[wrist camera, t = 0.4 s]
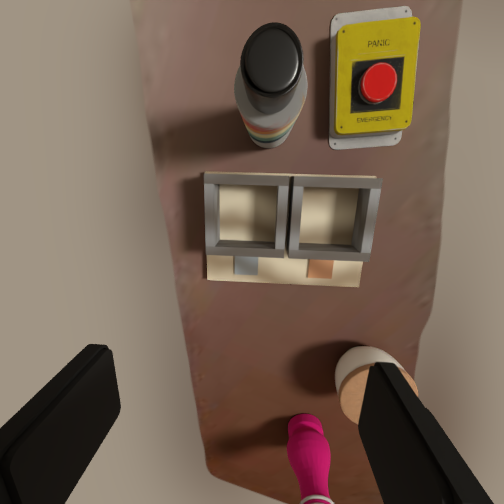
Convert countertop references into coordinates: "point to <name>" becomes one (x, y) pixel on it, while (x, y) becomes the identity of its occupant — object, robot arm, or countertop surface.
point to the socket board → (289, 227)
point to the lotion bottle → (271, 84)
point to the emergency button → (372, 76)
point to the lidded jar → (360, 377)
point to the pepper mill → (309, 458)
